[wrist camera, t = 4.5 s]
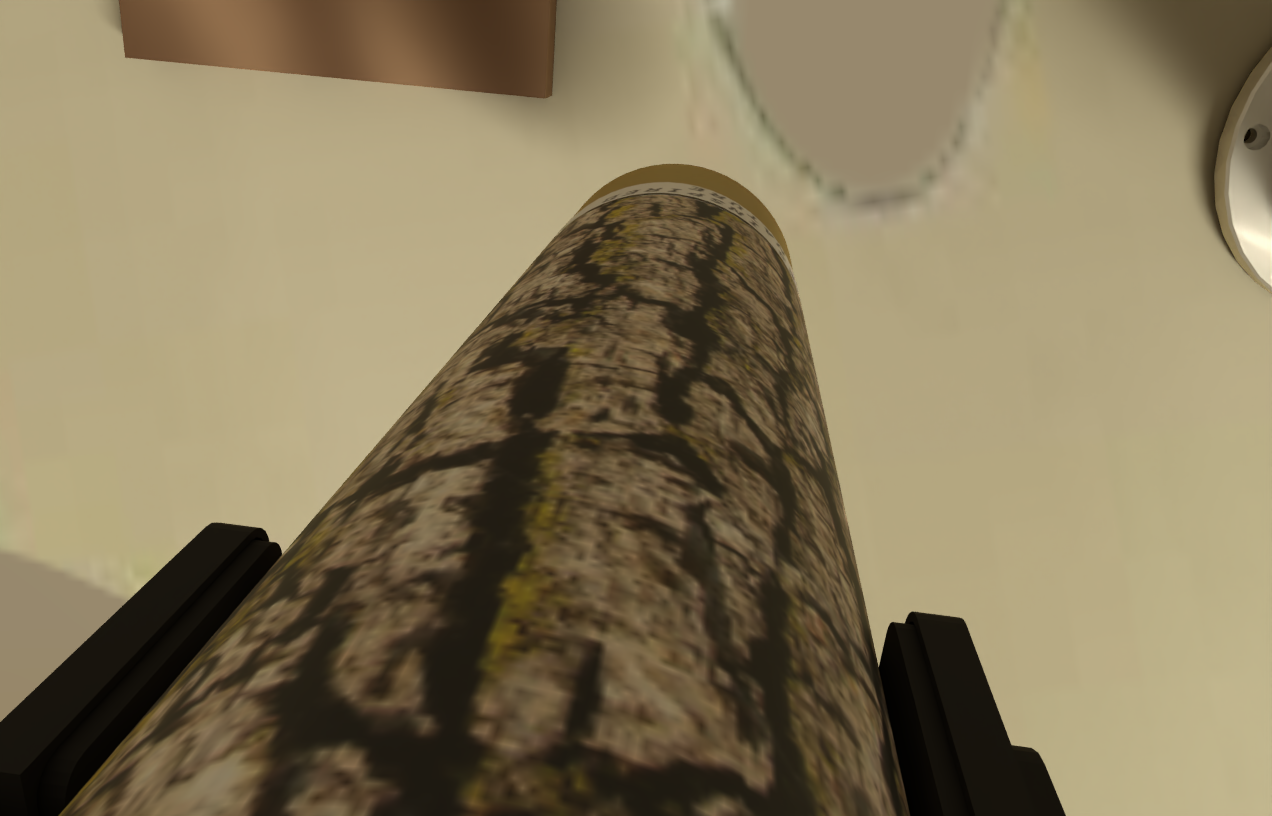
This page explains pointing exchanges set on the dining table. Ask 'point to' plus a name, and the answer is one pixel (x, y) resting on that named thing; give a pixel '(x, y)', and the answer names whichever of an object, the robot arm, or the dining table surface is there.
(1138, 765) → the dining table surface
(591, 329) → the bark print can
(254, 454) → the dining table surface
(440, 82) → the board
